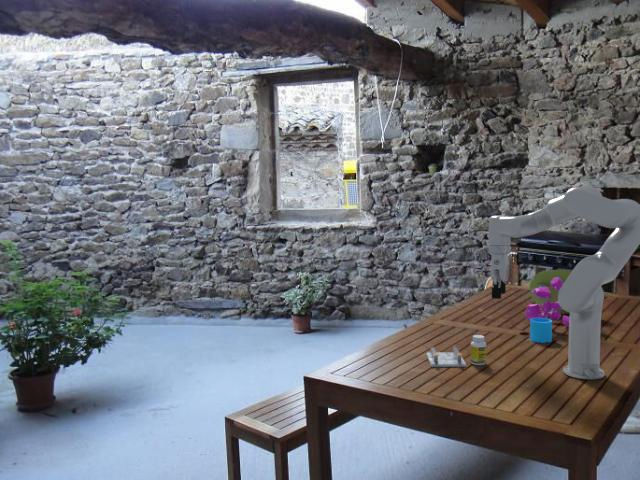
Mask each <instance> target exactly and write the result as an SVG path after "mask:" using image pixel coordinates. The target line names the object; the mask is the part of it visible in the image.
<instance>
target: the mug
mask: <svg viewBox="0 0 640 480" xmlns="http://www.w3.org/2000/svg"><path fill="white" fill-rule="evenodd" d="M529 323H530V324H529V325H530V327H529V339H530V341H532V342H534V343H539V342H540V343H539V344H541V343H542V344H546V342H548V343H551V342H552V341H553V319H550V318H548V317H547V318H532V319H530V322H529Z"/></svg>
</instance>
